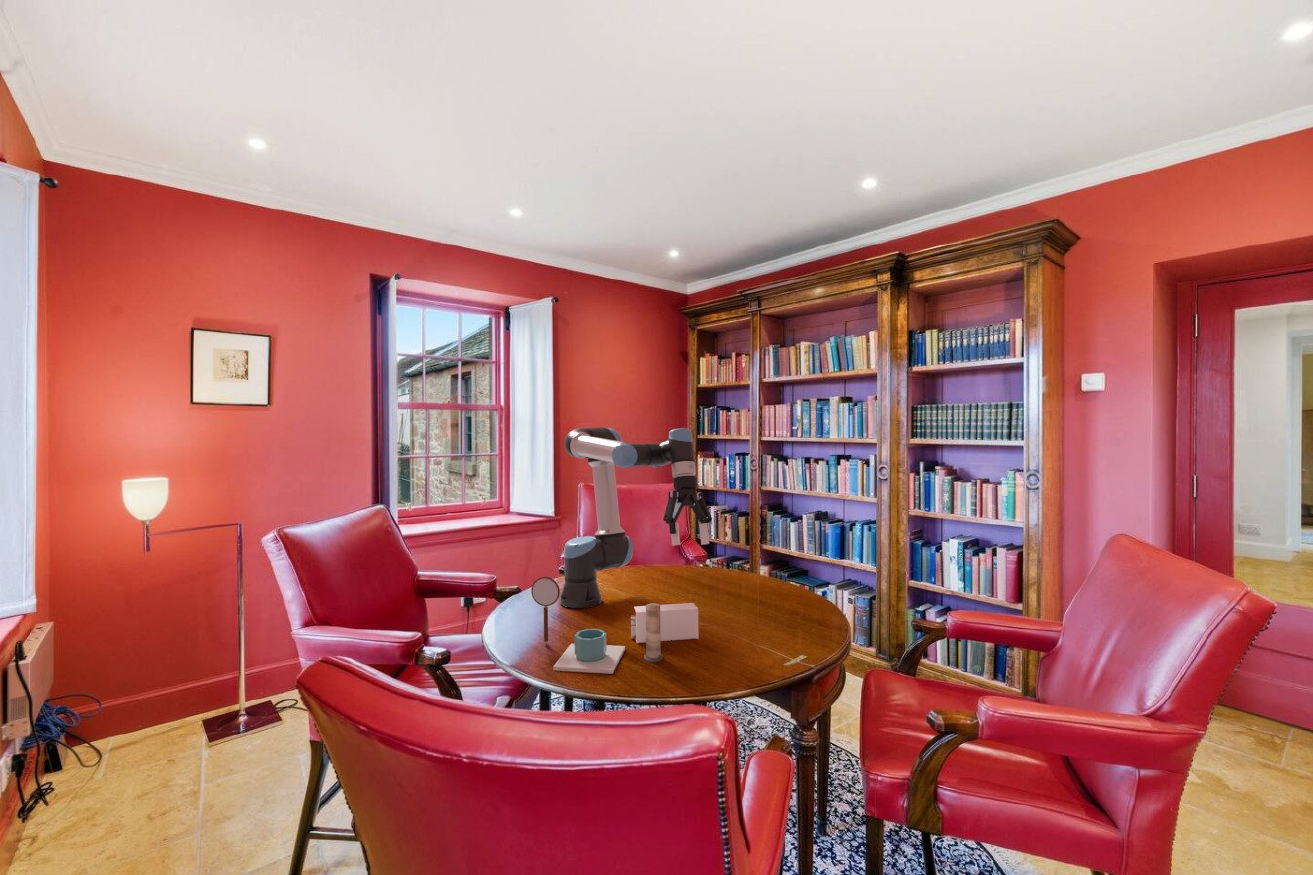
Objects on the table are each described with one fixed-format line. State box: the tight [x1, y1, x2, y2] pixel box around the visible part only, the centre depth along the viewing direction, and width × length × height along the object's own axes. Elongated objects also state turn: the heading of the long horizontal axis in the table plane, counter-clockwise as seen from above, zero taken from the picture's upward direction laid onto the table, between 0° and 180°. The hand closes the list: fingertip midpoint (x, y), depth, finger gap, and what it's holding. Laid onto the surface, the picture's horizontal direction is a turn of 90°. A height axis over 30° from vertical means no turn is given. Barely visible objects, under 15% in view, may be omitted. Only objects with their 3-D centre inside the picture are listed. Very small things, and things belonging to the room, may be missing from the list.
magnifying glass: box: [531, 576, 561, 645], centre depth 164 cm, size 9×2×20 cm, turn 82°
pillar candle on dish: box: [643, 602, 664, 663], centre depth 153 cm, size 5×5×15 cm
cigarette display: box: [630, 602, 699, 644], centre depth 168 cm, size 20×6×9 cm, turn 100°
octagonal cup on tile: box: [552, 628, 626, 675], centre depth 152 cm, size 16×16×7 cm
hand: (691, 544), depth 171 cm, fingers open, 13 cm apart
